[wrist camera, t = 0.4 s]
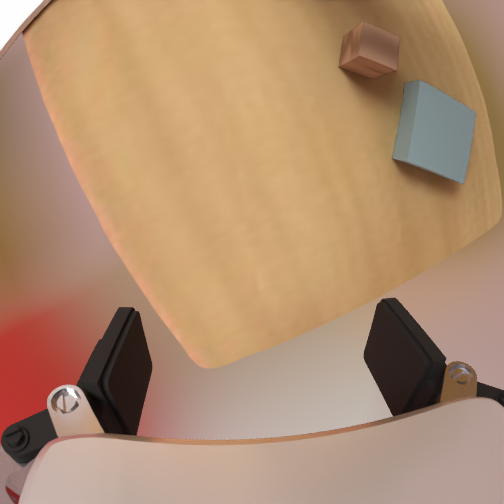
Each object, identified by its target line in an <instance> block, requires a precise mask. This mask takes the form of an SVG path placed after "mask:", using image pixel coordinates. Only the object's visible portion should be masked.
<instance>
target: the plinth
mask: <svg viewBox="0 0 504 504" xmlns="http://www.w3.org/2000/svg"><path fill="white" fill-rule="evenodd" d="M475 116H476V112H474V111H473V110H471V109H470V108H468V107H467V106H465V105H464V104H462V103H460V102H459V101H457V100H455V99H454V98H452V97H450V96H449V95H447V94H445V93H444V92H442V91H440V90H438V89H436V88H435V87H433V86H431V85H429V84H427V83H425V82H423V81H421V80H416V81H411V82H406V83H405V85H404V93H403V100H402V107H401V113H400V119H399V125H398V131H397V136H396V142H395V147H394V152H393V157H392V158H393V159H396V160H399V161H401V162H404V163H407V164H410V165H413V166H415V167H418V168H421V169H423V170H426V171H429V172H431V173H434V174H436V175H439V176H441V177H444V178H446V179H449V180H452V181H455V182H458V183H461V184H464V181H465V177H466V172H467V167H468V162H469V157H470V151H471V145H472V139H473V132H474V124H475Z"/></svg>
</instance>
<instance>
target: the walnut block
mask: <svg viewBox="0 0 504 504" xmlns="http://www.w3.org/2000/svg"><path fill="white" fill-rule="evenodd" d="M399 43H400V37H399V36H397V35H395V34H392V33H390V32H388V31H386V30H384V29H381V28H379V27H377V26H374V25H372V24H369V23H367V22H364V21H363V22H362V23H361V24H359V25H358V26H357V27H355V28H354V29H353V30H351V31H350V32H349V33H347V34H346V35H345V36H343V40H342V47H341V54H340V60H339V67H340V68H343V69H346V70H349V71H352V72H355V73H358V74H360V75H363V76H366V77H369V78H374V77H378V76H381V75H384V74H387V73H390V72H394V71H397V64H398V55H399Z"/></svg>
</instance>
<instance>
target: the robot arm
mask: <svg viewBox="0 0 504 504" xmlns="http://www.w3.org/2000/svg"><path fill="white" fill-rule="evenodd" d="M364 360H365V362H366V364H367V366H368V368H369V370H370V372H371V374H372V376H373V378H374V380H375V381H376V383H377V385H378V387H379V389H380V391H381V393H382V395H383V397H384V399H385V401H386V403H387V405H388V407H389V409H390V411H391V413H392V415H393V417H390V418H386V419H382V420H378V421H374V422H370V423H365V424H361V425H356V426H351V427H346V428H341V429H335V430H329V431H323V432H317V433H310V434H302V435H294V436H284V437H275V438H260V439H242V440H241V439H240V440H191V439H189V440H188V439H170V438H155V437H144V436H136V435H137V430H138V426H139V422H140V417H141V413H142V409H143V405H144V401H145V397H146V392H147V389H148V385H149V381H150V377H151V373H152V361H151V357H150V354H149V350H148V347H147V342H146V338H145V334H144V331H143V326H142V322H141V317H140V313H139V312H138V311H135V309H134V308H133V307H119V308H118V310H117V312H116V313H115V315H114V317H113V319H112V321H111V323H110V324H109V327H108V328H107V330H106V332H105V334H104V336H103V338H102V339H100V340H99V341H98V343H97V345H96V346H95V349H94V350H93V352H92V354H91V356H90V358H89V360H88V362H87V364H86V366H85V368H84V370H83V372H82V374H81V377H80V379H79V381H78V383H77V385H76V386H73V385H64V386H60V387H58V388H56V389H55V390H54V391H53V392H51V394H50V395H49V397H48V400H47V407H48V409H45V410H43V411H41V412H39V413H37V414H35V415H32V416H30V417H28V418H26V419H24V420H21V421H19V422H17V423H15V424H12V425H10V426H9V427H7V429H6V430H5V431H4V432H3V435H2V438H1V443H2V445H0V504H504V390H501V389H498V388H495V387H492V386H489V385H486V384H483V383H480V382H477V375H476V372H475V370H474V369H473V368H472V367H471V366H469V365H468V364H466V363H464V362H459V361H456V362H451V363H449V364H448V365H446V364H445V361H446V357H445V356H444V355H443V354H442V352H441V351H440V350H439V348H438V347H437V346H436V345H435V343H434V342H433V341H432V340H431V339H430V337H429V336H428V335H427V334H426V333H425V331H424V330H423V329H422V328H421V326H420V325H419V324H418V323H417V322H416V321H415V319H413V317H412V316H411V315H410V314H409V312H408V311H407V310H406V309H405V308H404V307H403V305H402V304H401V303H400V302H399V301H398V300H397V299H396V298H387V299H382V300H381V302H380V303H378V304H377V307H376V311H375V315H374V318H373V322H372V326H371V330H370V333H369V337H368V340H367V344H366V347H365V350H364Z"/></svg>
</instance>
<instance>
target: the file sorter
mask: <svg viewBox="0 0 504 504" xmlns="http://www.w3.org/2000/svg"><path fill="white" fill-rule="evenodd" d="M50 1H51V0H0V59H1V58H2V57H3V55H4V54H5V53H6V51H7V50H8V49H9V47H10V46H11V45H12V44H13V42H14V41H15V40H16V39H17V37H18V36H19V35H20V34H21V33H22V31H23V30H24V29H25V28H26V27H27V26H28V24H29V23H30V22H31V21H32V20H33V19H34V18H35V17H36V16H37V15H38V14H39V12H40V11H41V10H42V9H43V8H44V7H45V6H46V5H47V4H48V3H49V2H50Z"/></svg>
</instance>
